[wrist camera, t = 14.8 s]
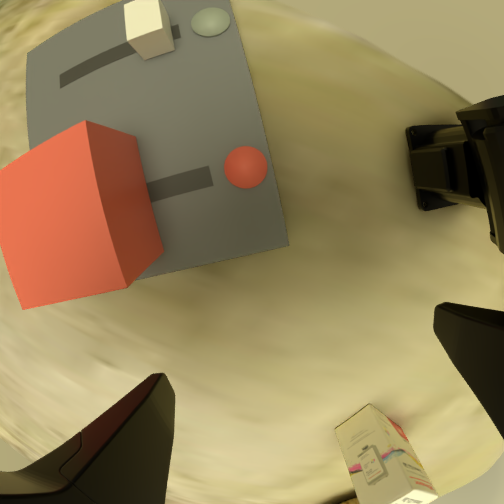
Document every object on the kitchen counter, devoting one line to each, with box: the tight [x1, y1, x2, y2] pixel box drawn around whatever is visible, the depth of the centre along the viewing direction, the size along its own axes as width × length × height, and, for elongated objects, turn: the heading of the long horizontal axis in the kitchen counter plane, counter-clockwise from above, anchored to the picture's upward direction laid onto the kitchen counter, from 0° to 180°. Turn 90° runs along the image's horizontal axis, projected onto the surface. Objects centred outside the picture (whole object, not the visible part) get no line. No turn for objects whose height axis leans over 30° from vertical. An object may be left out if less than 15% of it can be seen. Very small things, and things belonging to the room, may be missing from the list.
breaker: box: [124, 0, 175, 60], centre depth 12 cm, size 2×3×3 cm, turn 13°
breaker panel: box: [26, 0, 289, 280], centre depth 16 cm, size 16×20×3 cm
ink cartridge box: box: [335, 404, 439, 504], centre depth 18 cm, size 9×5×15 cm, turn 45°
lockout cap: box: [0, 120, 164, 310], centre depth 13 cm, size 7×7×6 cm
